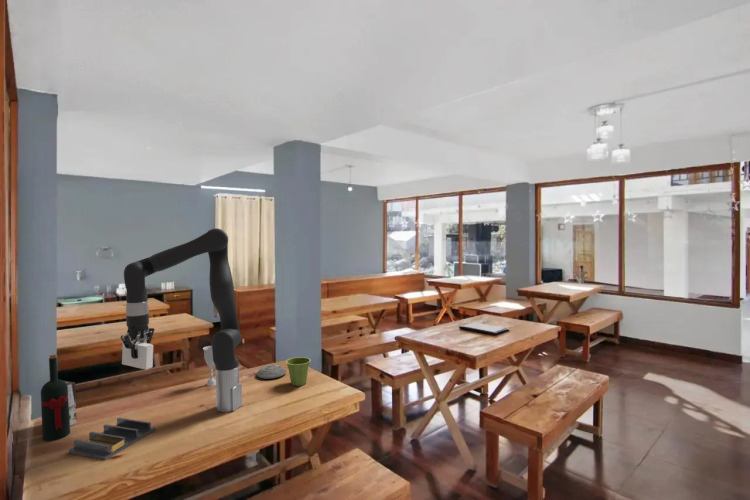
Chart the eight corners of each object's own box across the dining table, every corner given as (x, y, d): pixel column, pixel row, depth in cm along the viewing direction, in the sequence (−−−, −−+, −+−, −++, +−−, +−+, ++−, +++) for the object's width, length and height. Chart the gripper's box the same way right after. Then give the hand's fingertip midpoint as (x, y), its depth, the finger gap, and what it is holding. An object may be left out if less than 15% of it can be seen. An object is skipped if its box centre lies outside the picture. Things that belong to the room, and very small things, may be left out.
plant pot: (316, 382, 190) (315, 360, 189) (296, 390, 181) (295, 366, 181) (301, 377, 198) (300, 355, 197) (281, 384, 189) (280, 361, 188)
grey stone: (261, 370, 209) (261, 360, 209) (289, 370, 208) (289, 360, 208) (252, 381, 194) (251, 370, 194) (282, 381, 194) (281, 370, 193)
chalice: (222, 382, 191) (221, 346, 191) (211, 387, 185) (210, 350, 184) (212, 380, 194) (210, 345, 194) (200, 385, 188) (199, 348, 188)
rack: (155, 429, 146) (155, 420, 146) (105, 460, 127) (105, 449, 127) (121, 424, 150) (121, 415, 150) (68, 453, 131) (68, 442, 131)
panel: (152, 367, 153) (153, 344, 152) (145, 369, 150) (146, 346, 149) (128, 361, 156) (129, 339, 156) (121, 364, 154) (122, 341, 153)
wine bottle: (45, 446, 136) (41, 361, 134) (41, 436, 142) (36, 355, 141) (73, 437, 141) (69, 355, 140) (68, 428, 148) (64, 350, 147)
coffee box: (77, 422, 152) (75, 382, 152) (59, 430, 146) (57, 388, 146) (62, 419, 155) (60, 379, 155) (43, 427, 149) (41, 385, 149)
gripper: (128, 317, 144) (130, 363, 145) (159, 310, 158) (161, 352, 158) (113, 316, 146) (115, 361, 147) (145, 309, 160) (146, 350, 161)
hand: (139, 356), depth 153 cm, fingers closed on panel, 3 cm apart
